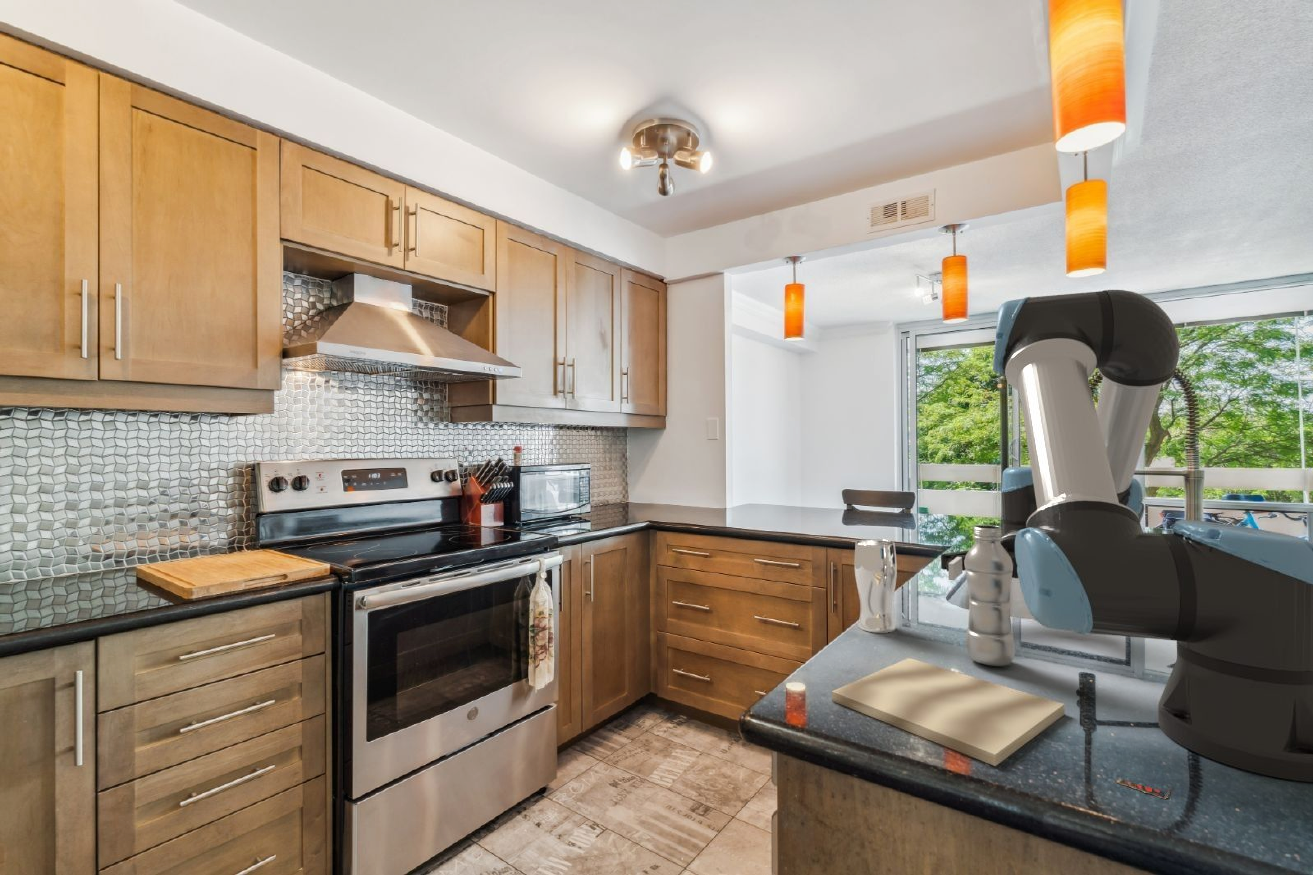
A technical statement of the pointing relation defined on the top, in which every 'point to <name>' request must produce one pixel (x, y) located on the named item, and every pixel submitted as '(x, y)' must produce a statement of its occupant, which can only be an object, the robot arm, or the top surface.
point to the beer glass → (876, 583)
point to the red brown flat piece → (1145, 789)
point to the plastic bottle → (989, 598)
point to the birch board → (951, 708)
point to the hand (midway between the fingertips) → (997, 577)
